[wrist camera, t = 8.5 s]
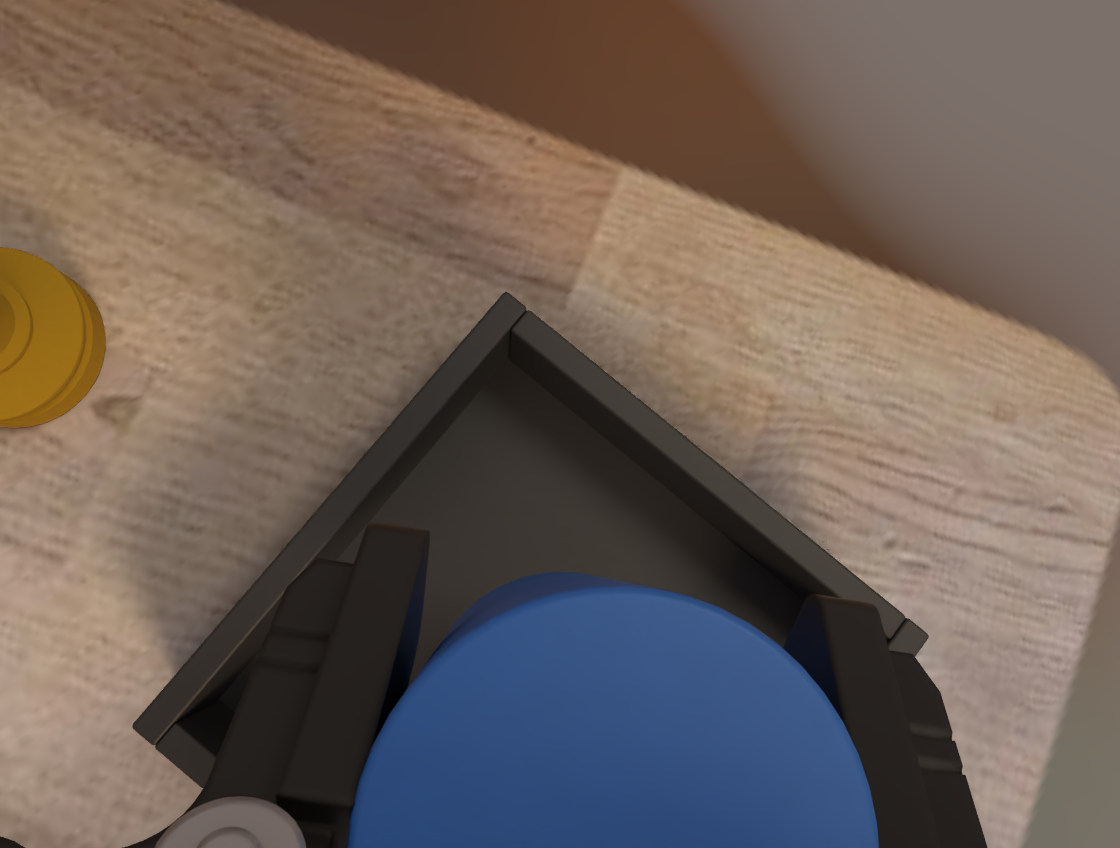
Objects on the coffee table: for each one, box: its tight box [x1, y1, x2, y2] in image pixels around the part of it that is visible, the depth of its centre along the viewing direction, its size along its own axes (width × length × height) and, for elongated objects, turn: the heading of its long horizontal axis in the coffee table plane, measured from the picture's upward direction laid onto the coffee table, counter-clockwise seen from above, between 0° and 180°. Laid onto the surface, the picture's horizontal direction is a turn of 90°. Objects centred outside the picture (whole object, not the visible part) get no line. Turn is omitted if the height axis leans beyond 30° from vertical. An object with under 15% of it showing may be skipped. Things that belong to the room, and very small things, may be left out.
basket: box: [132, 292, 929, 788], centre depth 21 cm, size 11×11×4 cm
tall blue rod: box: [346, 572, 879, 848], centre depth 12 cm, size 5×5×8 cm
